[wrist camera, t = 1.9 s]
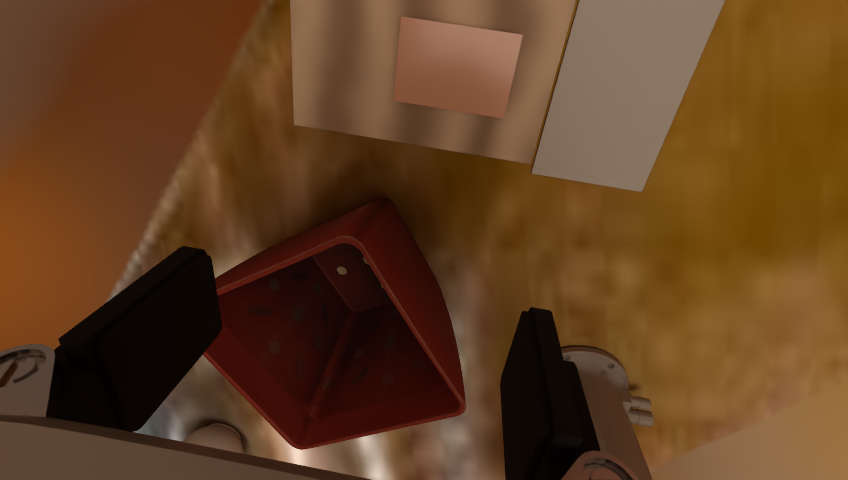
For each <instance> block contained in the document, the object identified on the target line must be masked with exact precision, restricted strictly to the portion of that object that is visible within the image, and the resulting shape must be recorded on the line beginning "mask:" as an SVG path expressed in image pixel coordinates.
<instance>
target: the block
mask: <svg viewBox="0 0 848 480" xmlns="http://www.w3.org/2000/svg"><path fill="white" fill-rule="evenodd" d="M522 37H523V35H522V34H516V33H510V32H503V31H496V30H490V29H483V28H477V27H470V26H463V25H457V24H450V23H444V22H437V21H430V20H424V19H417V18H411V17H403V16H401V24H400V35H399V46H398V57H397V68H396V79H395V91H394V101H398V102H404V103H410V104H417V105H423V106H429V107H435V108H441V109H448V110H454V111H460V112H466V113H472V114H479V115H485V116H491V117H497V118H503V119H504V116H505V112H506V107H507V103H508V99H509V94H510V90H511V85H512V81H513V77H514V72H515V68H516V63H517V59H518V54H519V50H520V46H521V41H522Z"/></svg>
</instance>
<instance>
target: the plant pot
mask: <svg viewBox="0 0 848 480" xmlns="http://www.w3.org/2000/svg"><path fill="white" fill-rule="evenodd" d="M363 257H365V258H366V260H367V262H368V263H369V265H370V266H366V265H365V264H364V263H363V262H362V259H363ZM340 266H341V267H344V268H345V269H346V270H347V274H346V275H344V276H342V275H339V274H338V273H337V272H336V269H337V267H340ZM215 283H216V289H217V295H218V301H219V307H220V313H221V319H222V329H221V332H220V334H219V335H218V337H217V338H216V339H215V340H214V341H213V343H212V344H211V345H210V346H209V347H208V349H207V350H206V351H205V352H204V353H203V355H204V356H205V357H206V358H207V360H208V361H209V362H210V363H211V364H212V365H213V366H214V367H215V368H216V369H217V370H218V371H219V372H220V373H221V374H222V375H223V376H224V377H225V378H226V379H227V381H228V382H229V383H230V384H231V385H232V386H233V387H234V388H235V389H236V390H237V391H238V392H239V393H240V394H241V395H242V396H243V397H244V398H245V399H246V400H247V401H248V402H249V403H250V404H251V405H252V406H253V407H254V408H255V409H256V410H257V411H258V412H259V413H260V414H261V415H262V416H263V417H264V418H265V419H266V420H267V421H268V422H269V424H270V425H271V426H272V427H273V428H274V429H275V430H276V431H277V432H278V433H279V434H280V435H281V436H282V437H283V438H284V439H285V440H286V441H287V442H288V443H289V444H290V445H291V446H293V447H295V448H297V449H301V450H303V449H309V448H314V447H319V446H323V445H327V444H332V443H337V442H341V441H346V440H350V439H354V438H359V437H363V436H368V435H372V434H377V433H381V432H386V431H390V430H395V429H399V428H404V427H408V426H413V425H418V424H422V423H427V422H432V421H437V420H441V419H446V418H450V417H455V416H458V415H461V414H462V413H464V411H465V409H466V402H465V392H464V385H463V377H462V371H461V364H460V359H459V353H458V348H457V343H456V339H455V335H454V331H453V327H452V323H451V319H450V316H449V313H448V310H447V306H446V303H445V300H444V298H443V295H442V292H441V289H440V287H439V284H438V282H437V280H436V278H435V276H434V274H433V272H432V271H431V269H430V267H429V265H428V264H427V262H426V260H425V258H424V257H423V255H422V253H421V251H420V250H419V248H418V246H417V244H416V243H415V241H414V239H413V238H412V236H411V234H410V232H409V231H408V229H407V227H406V225H405V224H404V222H403V220H402V218H401V217H400V215H399V213H398V211H397V210H396V208H395V206H394V204H393V203H392V202H391V201H390V200H388V199H386V198H380V199H377V200H374V201H372V202H370V203H368V204H365V205H363V206H361V207H359V208H357V209H354V210H352V211H350V212H348V213H345V214H343V215H341V216H339V217H336V218H334V219H332V220H330V221H327V222H325V223H323V224H321V225H318V226H316V227H314V228H312V229H309V230H307V231H305V232H303V233H300V234H298V235H296V236H293V237H291V238H288V239H286V240H284V241H282V242H280V243H278V244H276V245H274V246H272V247H270V248H268V249H266V250H264V251H262V252H260V253H258V254H256V255H255V256H253V257H251V258H249V259H247V260H246V261H244V262H242V263H240V264H238V265H237V266H235V267H233V268H232V269H230V270H228V271H227V272H225V273H223V274H222V275H220V276H218V277H217V278H215ZM380 283H381V284H382V286H383V287H384V289H385V290H382V289H381V288H380Z"/></svg>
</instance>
